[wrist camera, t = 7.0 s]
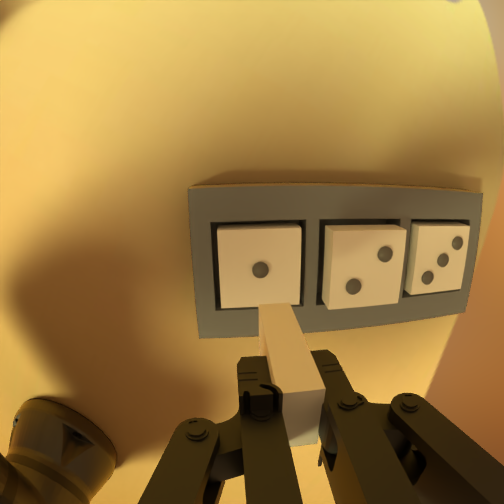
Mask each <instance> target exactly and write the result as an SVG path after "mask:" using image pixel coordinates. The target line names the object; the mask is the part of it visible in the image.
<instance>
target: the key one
mask: <svg viewBox="0 0 504 504" xmlns="http://www.w3.org/2000/svg"><path fill="white" fill-rule="evenodd" d="M217 238H218V259H219V278H220V295H221V308H240V307H258V304H273V303H290V305H298V304H299V300H300V271H301V227H300V226H299V225H298V224H297V223H267V224H235V225H218V229H217Z"/></svg>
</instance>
